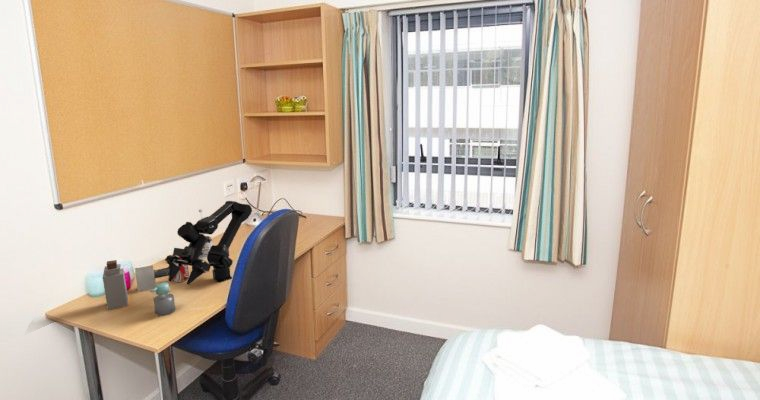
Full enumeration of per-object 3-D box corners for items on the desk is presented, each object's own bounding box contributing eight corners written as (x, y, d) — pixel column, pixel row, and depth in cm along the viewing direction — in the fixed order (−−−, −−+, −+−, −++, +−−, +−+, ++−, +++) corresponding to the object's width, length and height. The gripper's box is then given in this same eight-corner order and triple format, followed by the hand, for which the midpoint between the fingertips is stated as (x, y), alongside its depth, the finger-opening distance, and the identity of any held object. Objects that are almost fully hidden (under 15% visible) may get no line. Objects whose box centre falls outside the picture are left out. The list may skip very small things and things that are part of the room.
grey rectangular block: (155, 288, 191) (152, 266, 188) (138, 291, 188) (134, 269, 185) (155, 285, 194) (152, 264, 192) (138, 288, 191) (135, 266, 189)
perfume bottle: (107, 309, 172) (100, 266, 168) (109, 302, 178) (102, 260, 174) (127, 305, 175) (121, 263, 171) (128, 299, 181) (121, 257, 177)
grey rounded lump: (165, 305, 175) (163, 292, 173) (179, 308, 172) (177, 295, 171) (151, 313, 168) (149, 300, 167) (165, 316, 166) (163, 302, 165)
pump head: (163, 293, 172) (162, 281, 171) (173, 295, 170) (171, 283, 169) (148, 301, 165) (146, 289, 164) (158, 303, 164) (156, 291, 163)
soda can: (183, 283, 195) (180, 258, 193) (169, 282, 197) (165, 257, 194) (192, 277, 202) (189, 252, 199) (179, 276, 204) (176, 251, 201)
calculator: (150, 273, 208) (149, 267, 208) (176, 267, 215) (175, 261, 214) (154, 279, 201) (153, 273, 200) (181, 273, 208) (180, 267, 207)
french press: (211, 259, 224) (206, 211, 218) (188, 259, 224) (183, 211, 219) (218, 252, 234) (214, 206, 228) (196, 252, 234) (191, 207, 228)
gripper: (165, 236, 180) (146, 271, 172) (202, 241, 173) (184, 278, 166) (182, 248, 189) (165, 282, 181) (218, 253, 182) (201, 288, 175)
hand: (178, 282), depth 176 cm, fingers open, 9 cm apart
